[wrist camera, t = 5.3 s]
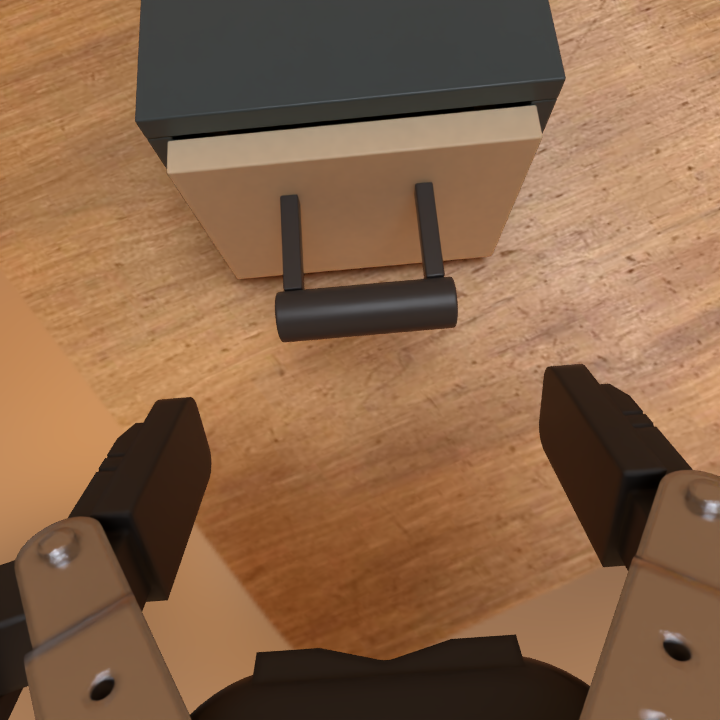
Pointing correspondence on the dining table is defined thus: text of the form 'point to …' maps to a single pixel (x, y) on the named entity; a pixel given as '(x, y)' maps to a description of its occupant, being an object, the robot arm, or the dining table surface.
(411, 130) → the drawer
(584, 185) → the dining table surface
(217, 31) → the cabinet
